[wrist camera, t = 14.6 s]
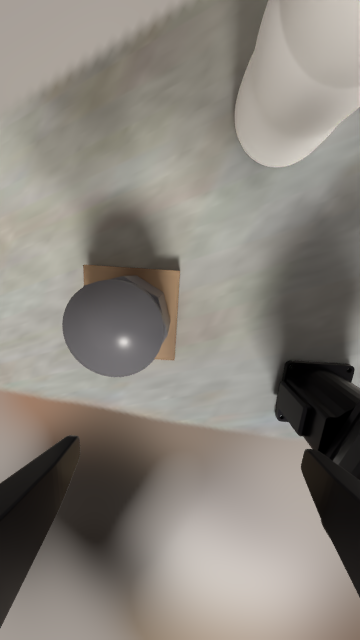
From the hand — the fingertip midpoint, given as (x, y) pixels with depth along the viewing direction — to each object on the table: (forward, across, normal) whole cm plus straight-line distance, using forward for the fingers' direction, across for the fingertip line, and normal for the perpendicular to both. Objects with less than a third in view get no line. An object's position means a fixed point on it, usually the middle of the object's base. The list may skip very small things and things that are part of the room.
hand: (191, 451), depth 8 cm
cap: (+11, +5, -3) cm, 12 cm away
